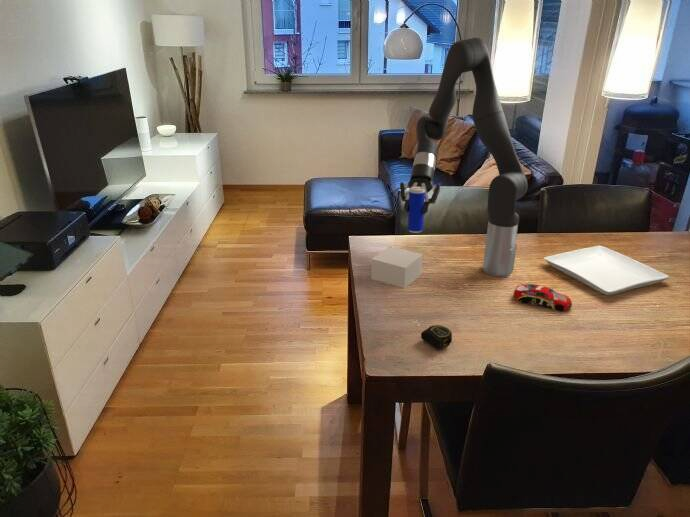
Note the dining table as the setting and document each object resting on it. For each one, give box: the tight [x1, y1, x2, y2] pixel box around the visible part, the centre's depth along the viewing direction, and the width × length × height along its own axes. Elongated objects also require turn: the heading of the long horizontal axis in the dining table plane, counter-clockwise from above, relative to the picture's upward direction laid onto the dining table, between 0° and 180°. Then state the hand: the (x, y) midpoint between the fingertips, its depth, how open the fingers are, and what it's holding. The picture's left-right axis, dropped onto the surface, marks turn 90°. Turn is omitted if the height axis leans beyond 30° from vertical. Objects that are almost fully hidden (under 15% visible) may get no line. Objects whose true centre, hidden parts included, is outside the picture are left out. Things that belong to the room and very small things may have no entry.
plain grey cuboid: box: [370, 246, 424, 289], centre depth 170 cm, size 12×12×7 cm
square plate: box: [543, 245, 670, 296], centre depth 172 cm, size 27×27×4 cm
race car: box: [513, 283, 573, 312], centre depth 155 cm, size 16×7×5 cm, turn 62°
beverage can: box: [407, 186, 425, 234], centre depth 177 cm, size 5×5×15 cm
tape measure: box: [420, 324, 453, 351], centre depth 135 cm, size 7×7×4 cm
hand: (415, 212), depth 176 cm, fingers closed on beverage can, 5 cm apart
